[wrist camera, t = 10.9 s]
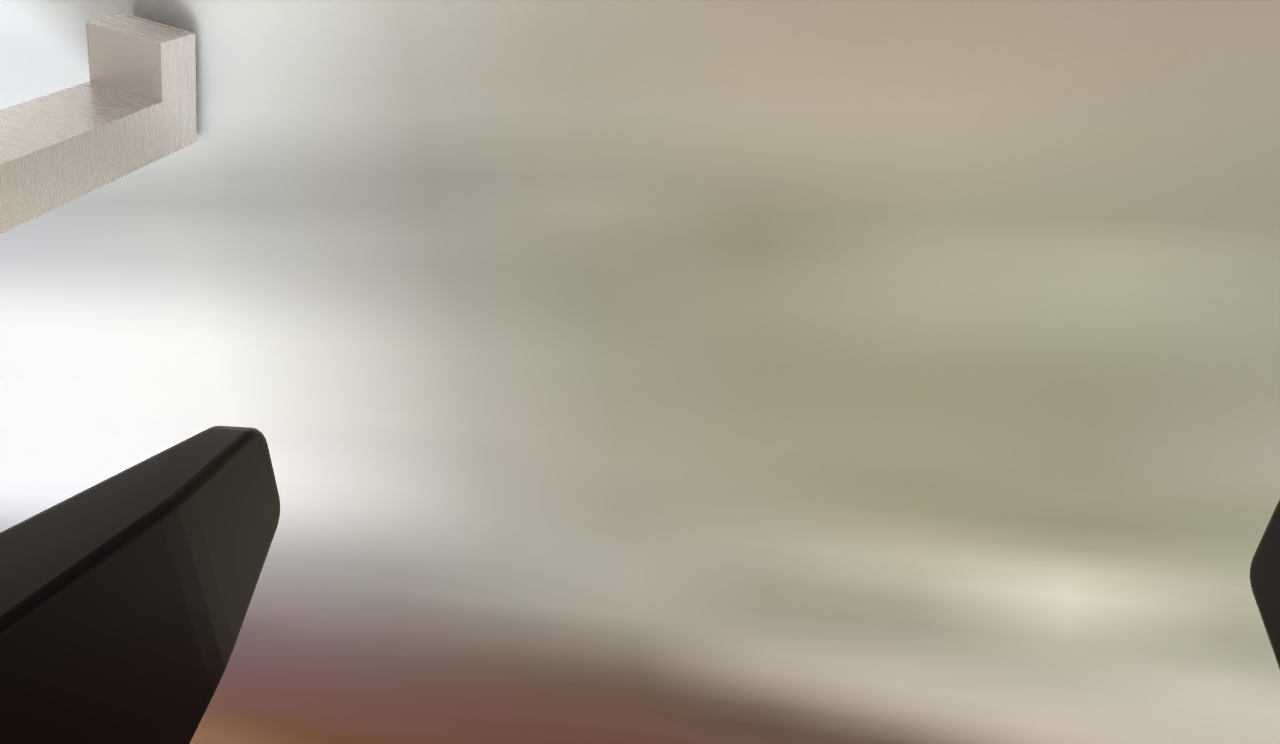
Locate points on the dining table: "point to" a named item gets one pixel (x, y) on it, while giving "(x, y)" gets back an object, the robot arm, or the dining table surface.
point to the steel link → (100, 118)
